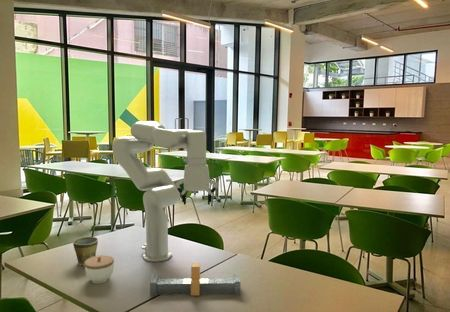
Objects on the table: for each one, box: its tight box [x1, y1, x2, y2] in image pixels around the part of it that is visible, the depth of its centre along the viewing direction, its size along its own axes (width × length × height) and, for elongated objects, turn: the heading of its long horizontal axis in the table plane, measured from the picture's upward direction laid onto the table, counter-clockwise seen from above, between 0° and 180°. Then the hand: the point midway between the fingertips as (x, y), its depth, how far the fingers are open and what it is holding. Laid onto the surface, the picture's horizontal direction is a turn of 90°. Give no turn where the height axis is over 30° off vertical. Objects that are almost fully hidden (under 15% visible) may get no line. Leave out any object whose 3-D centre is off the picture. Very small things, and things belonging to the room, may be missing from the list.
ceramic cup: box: [72, 236, 99, 267], centre depth 159 cm, size 13×10×10 cm
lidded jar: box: [84, 255, 114, 284], centre depth 142 cm, size 11×11×9 cm
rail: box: [149, 273, 241, 297], centre depth 133 cm, size 32×6×5 cm, turn 92°
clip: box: [190, 262, 201, 296], centre depth 133 cm, size 8×3×10 cm, turn 2°
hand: (196, 203), depth 147 cm, fingers open, 9 cm apart
